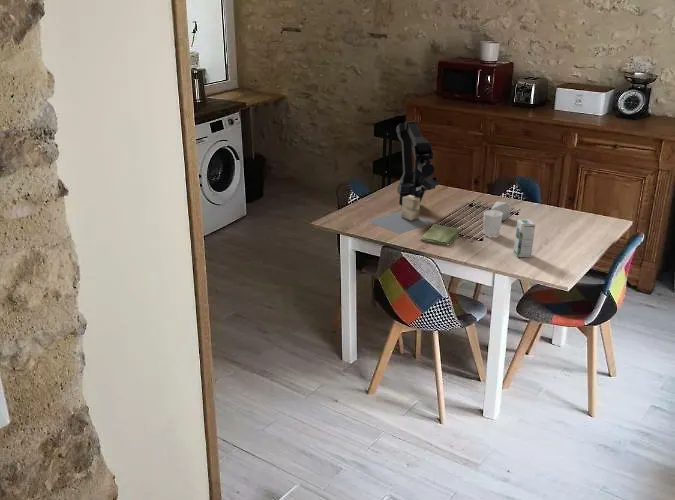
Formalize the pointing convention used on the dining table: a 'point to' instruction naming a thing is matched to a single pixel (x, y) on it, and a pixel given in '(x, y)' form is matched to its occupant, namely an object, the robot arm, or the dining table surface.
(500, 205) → the die
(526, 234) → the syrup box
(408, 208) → the maple block
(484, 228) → the white cup
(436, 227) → the washcloth
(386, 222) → the rubber pad
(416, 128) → the robot arm
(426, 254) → the dining table surface
